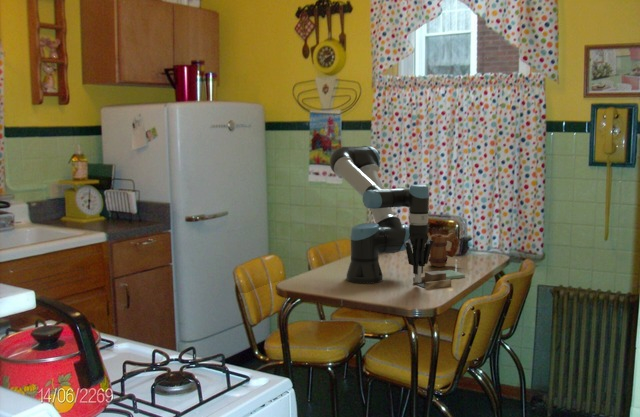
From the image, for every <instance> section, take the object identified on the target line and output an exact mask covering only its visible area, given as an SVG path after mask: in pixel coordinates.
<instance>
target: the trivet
mask: <svg viewBox="0 0 640 417" xmlns="http://www.w3.org/2000/svg"><path fill="white" fill-rule="evenodd" d="M440 271H441V272H444V273H446V280H449V279H451V280H452V279H461V278H462V279H463V278H465V277H466V275H465V274H464V273H461V272H458V271H455V270H452V269H447V270H440Z"/></svg>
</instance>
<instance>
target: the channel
mask: <svg viewBox="0 0 640 417" xmlns="http://www.w3.org/2000/svg"><path fill="white" fill-rule="evenodd" d="M412 283H413V284H412V285H416V286H419V287H421V288H423V289H426V290H427V289H436V288H444V287H445V288H446V287H451V286H452V279H446V280H440V281H432V282H425V275H424V276H421V282H420V283H418V282H415V276H414V277H413V279H412Z"/></svg>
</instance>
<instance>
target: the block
mask: <svg viewBox="0 0 640 417" xmlns="http://www.w3.org/2000/svg"><path fill="white" fill-rule="evenodd" d="M441 271H442V270H434V271H425V272H424V276H425V282H432V281H440V280H447V279H446V273H444V272H441Z"/></svg>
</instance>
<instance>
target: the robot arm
mask: <svg viewBox="0 0 640 417" xmlns="http://www.w3.org/2000/svg"><path fill="white" fill-rule="evenodd" d="M380 160H381V156H380V153H379V151H378V150H377V149H376V148H375V147H374V146H369V145H363V146H340V147H338V148H336V149H335V150H334V151H333V152H332V154H331V155H330V158H329V166H330V169H331V171H332V172H333V173H334V174H335V175H336V176H337V177H341V178H342V179H343V180H345V181H346V182H347V183H348V184H349V186H351V187H352V188H353V189H354V190H355V191H356V192H357V193H358V194H359V195H360V196H361V197H362V203H363V206H364V207H365V208H366V209H370V210H371V213H372V216H373V218H374V221H375V222H365V223H360V224H356V225H353V227H352V228H351V230H350V237H349V238H350V262H349V266H348V269H347V272H346V281H348V282H350V283H355V284H356V283H357V284H375V283H376V284H377V283H380V282H382V281H383V277H384V275H383V272H382V269H381V266H380V263H379V258H380V256H379V255H380V254H392V252H394V253H400V252H405V251H406V256H407V260H408V264H409V265H411V266H412V273H413V275H414V277H415V282H418V283H420V282H421V277H422V275H423V273H424V267H425V266H426V265H428V263H429V257H430V250H431V246H432V244H433V240H431V238H429V235H428V234H429V225H428V224H429V208H430V207H429V206H430V205H429V203H430V191H429V186H428V185H426V184H412V185H410V186H409V188H406V187H395V188H387V189H385V188H384V186H383V184H382V181H381V179H380V176H379V171H380V167H381V161H380ZM402 207H403V208H409V210H408V212H409V216H408V217H409V218H408V219H409V220H408V221H409V225H408V224H405V223H402V222H401V221H402V220H400V217H398V216H396V215H394V213H393V212H394V211H393V208H402Z"/></svg>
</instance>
